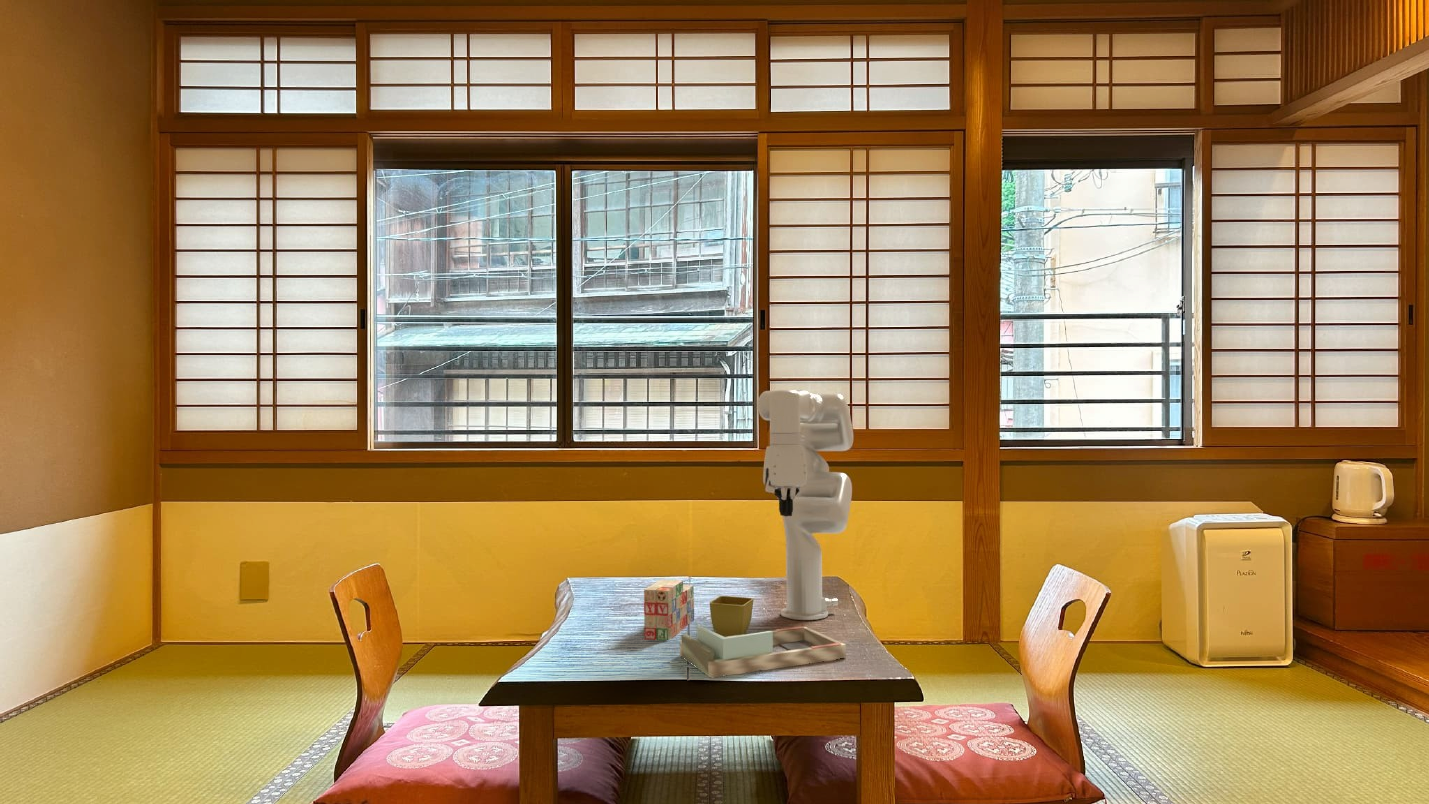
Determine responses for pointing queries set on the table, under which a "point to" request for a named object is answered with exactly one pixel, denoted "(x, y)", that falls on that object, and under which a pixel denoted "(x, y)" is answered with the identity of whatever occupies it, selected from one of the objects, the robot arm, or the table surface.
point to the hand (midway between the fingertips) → (786, 515)
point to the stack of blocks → (667, 609)
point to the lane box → (797, 639)
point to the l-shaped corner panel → (736, 644)
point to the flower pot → (731, 615)
